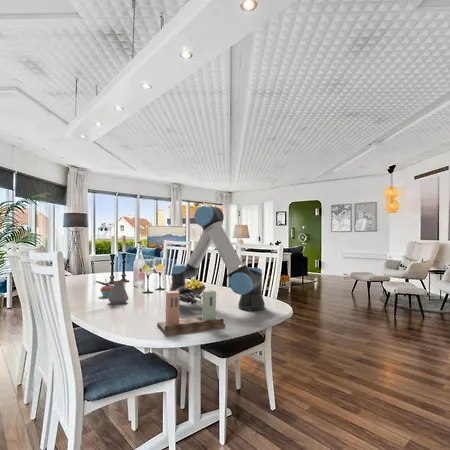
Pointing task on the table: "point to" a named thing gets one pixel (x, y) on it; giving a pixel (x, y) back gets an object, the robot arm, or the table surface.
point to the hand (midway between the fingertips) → (200, 302)
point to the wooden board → (190, 326)
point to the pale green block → (209, 305)
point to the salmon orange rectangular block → (172, 307)
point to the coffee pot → (117, 292)
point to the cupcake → (106, 290)
